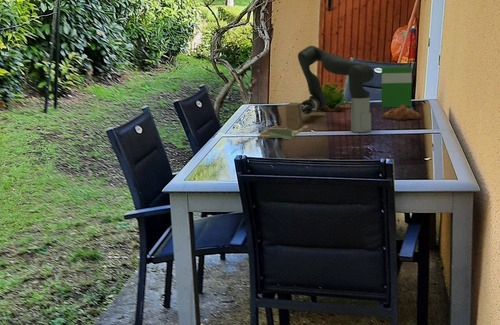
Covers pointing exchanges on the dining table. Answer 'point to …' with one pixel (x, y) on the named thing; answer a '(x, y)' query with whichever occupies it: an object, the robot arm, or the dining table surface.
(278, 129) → the tray
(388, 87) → the hardback book
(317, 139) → the dining table surface
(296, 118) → the walnut block
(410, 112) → the pastry
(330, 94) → the green leafy plant
